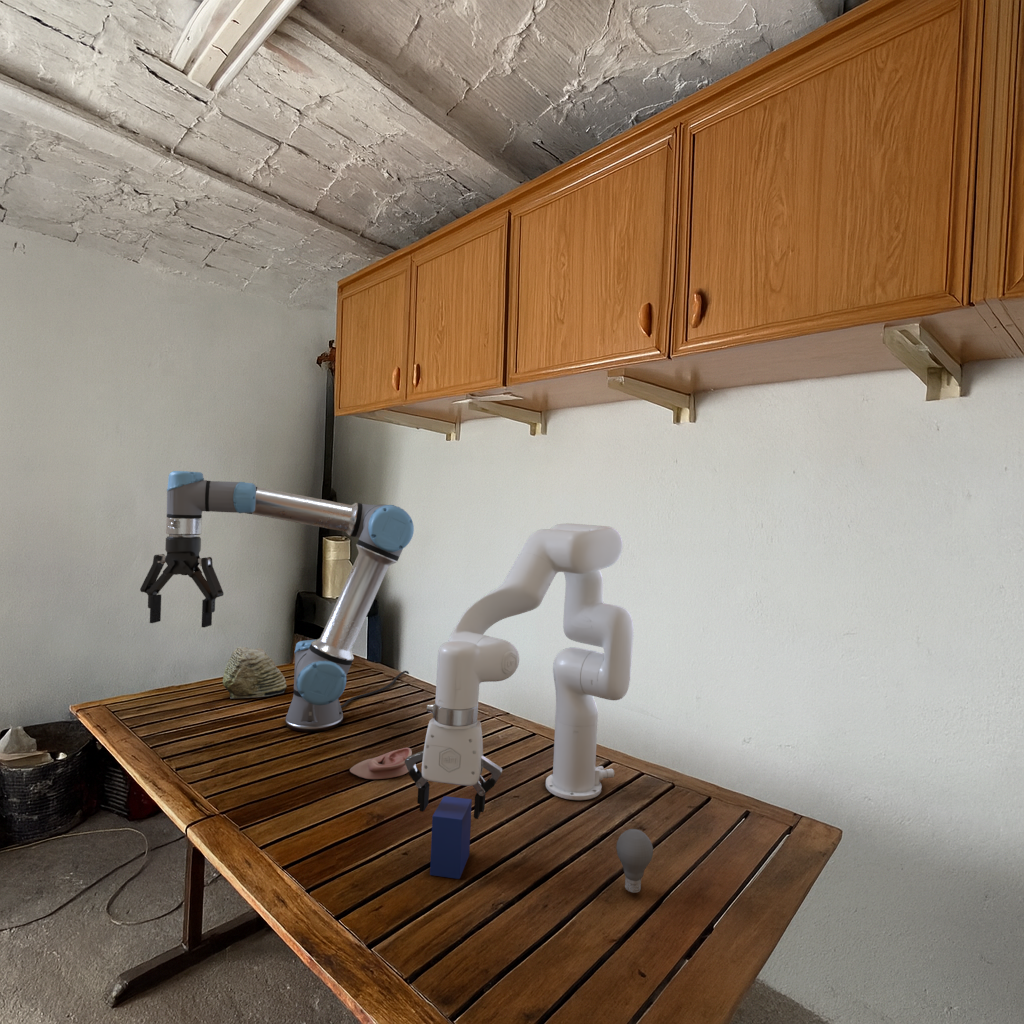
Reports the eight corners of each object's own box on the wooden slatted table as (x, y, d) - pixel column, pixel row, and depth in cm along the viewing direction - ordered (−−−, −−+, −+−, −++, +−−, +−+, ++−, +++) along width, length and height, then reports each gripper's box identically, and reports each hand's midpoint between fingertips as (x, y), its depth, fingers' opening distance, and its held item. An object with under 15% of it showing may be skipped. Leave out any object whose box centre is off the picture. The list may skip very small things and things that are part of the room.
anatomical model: (344, 758, 144) (365, 740, 155) (343, 775, 144) (365, 756, 155) (399, 766, 141) (417, 746, 152) (398, 783, 141) (416, 763, 152)
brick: (429, 875, 108) (432, 815, 108) (441, 851, 115) (443, 795, 115) (459, 879, 107) (462, 819, 107) (469, 855, 114) (471, 799, 114)
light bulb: (610, 879, 108) (613, 822, 108) (644, 879, 109) (647, 822, 109) (619, 902, 102) (622, 840, 102) (655, 901, 103) (658, 840, 103)
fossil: (218, 695, 195) (220, 647, 195) (278, 685, 208) (279, 640, 207) (228, 703, 189) (230, 653, 188) (289, 692, 201) (290, 645, 201)
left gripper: (125, 533, 149) (122, 623, 150) (222, 539, 146) (218, 631, 146) (148, 532, 157) (145, 617, 157) (240, 537, 153) (237, 625, 153)
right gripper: (401, 715, 108) (395, 815, 108) (501, 726, 105) (495, 828, 105) (414, 702, 116) (409, 796, 116) (508, 712, 113) (502, 808, 113)
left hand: (180, 624), depth 152 cm, fingers open, 13 cm apart
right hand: (450, 811), depth 111 cm, fingers open, 9 cm apart
